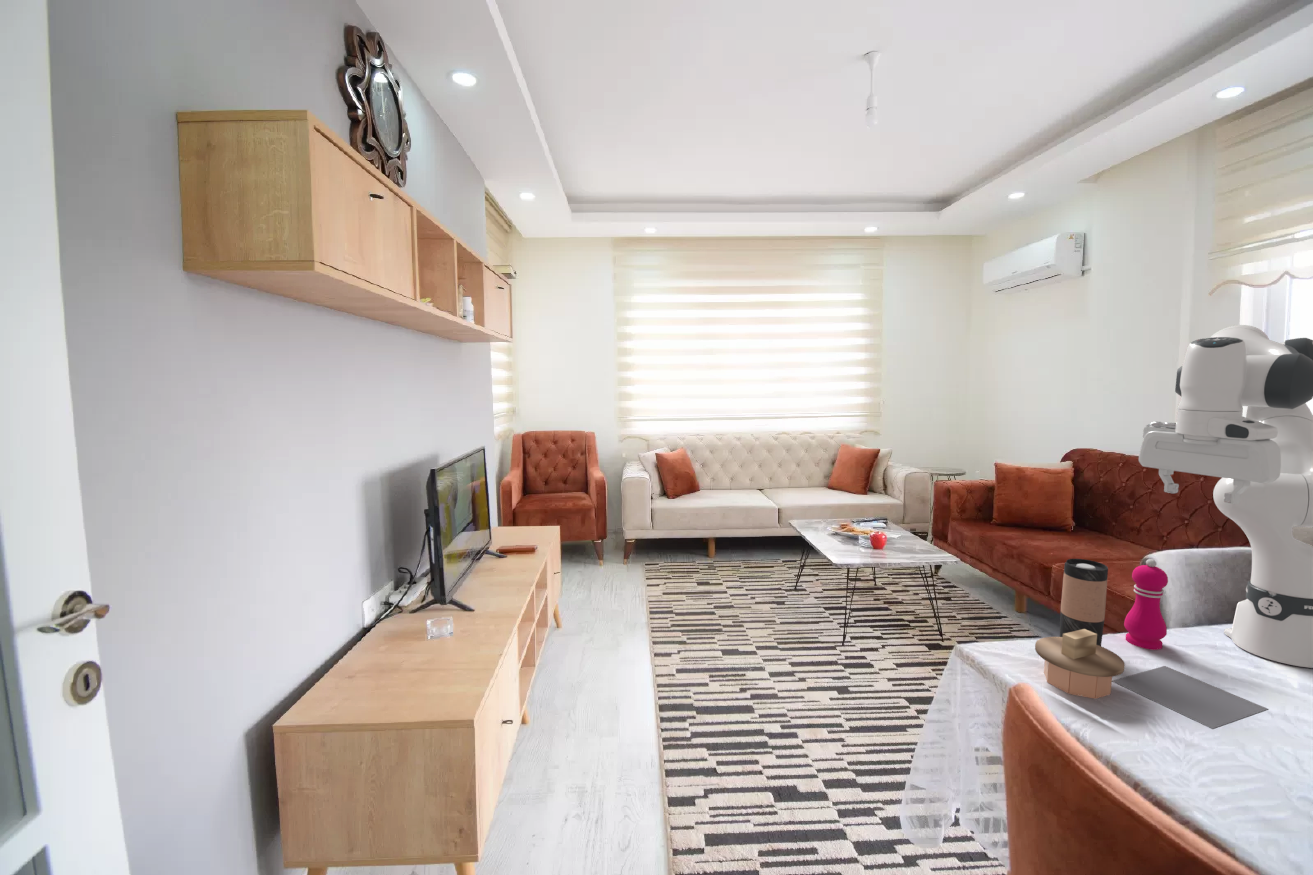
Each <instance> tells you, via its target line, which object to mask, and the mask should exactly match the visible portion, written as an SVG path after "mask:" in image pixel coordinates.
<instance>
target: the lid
mask: <svg viewBox="0 0 1313 875" xmlns="http://www.w3.org/2000/svg"><path fill="white" fill-rule="evenodd" d="M1096 643H1097V634H1096V633H1093V632H1091V631H1088V630H1086V629H1082V630H1077V631H1073V632H1069V633H1064V634H1063V637H1060V636H1047V637H1046V636H1045V637H1041V638H1039V639H1037V640H1036V642H1035V645H1034V647H1035V648H1034V650H1035V652H1036V654H1037V655H1038V657H1040V658H1042V659H1043V661H1045V660H1046V661H1047V662H1049V663H1051V664H1053V665H1055V666H1058V667H1060V668H1063V669H1066V670H1069V671H1072V672H1076V673H1080V674H1084V675H1090V676H1099V677H1110V676H1112V677H1116V676H1119V675H1121V674H1123V673H1124V671H1125V669H1126V668H1125V665H1126V664H1125V662H1124V660H1123V658H1122V657H1121V656H1119V654H1117V653H1115V652H1113V651H1111V650H1110V649H1108V648H1105V647H1104V646H1102V645H1101V646H1099V645H1096Z"/></svg>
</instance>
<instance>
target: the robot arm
mask: <svg viewBox="0 0 1313 875" xmlns="http://www.w3.org/2000/svg"><path fill="white" fill-rule="evenodd" d="M1174 392H1175V394H1177V395H1179V396H1180V397H1181V398H1180V401H1179V403H1178V404H1177V405H1178V406H1177V409H1176V410H1177V412H1176V421H1175V422H1162V421H1152V422H1151V423H1148V424H1146V425H1145V426H1144V428H1143V429H1142V430H1143V431H1142V432H1143V433H1142V439H1143V440H1142V442H1141V445H1140V450H1139V455H1138V462H1139V464H1140V465H1141V466H1142V467H1144V468H1150V469H1151V468H1152V469H1157V470H1158V475H1159V477H1160V479H1161V481H1162V482H1163V485H1164V486H1163V488H1164V489H1163V492H1164V493H1168V494H1177V493H1179V488H1180V487H1179V486H1180V485H1179V483H1175V482H1174V480H1173V477H1172V476H1171V475H1174V472H1181V473H1187V474H1194V475H1201V476H1202V475H1203V476H1207V477H1208V476H1209V477H1214V478H1215V477H1216V478H1220V479H1219V480H1217V483H1216V484H1215V486H1214V488H1213V492H1212V494H1213V496H1212V498H1213V501H1214V505H1215V506H1216V507H1217V509H1218V510H1219V511H1220V513H1222V514H1223V515H1224V516H1225V517H1227V518H1228V519H1230V520H1232V521H1233V522H1234V523H1235V524H1236V525H1237V526H1238V527H1239V528H1240V529H1241V530H1242V531H1243V533H1244V534H1245V535H1246V537H1247V539H1248V541H1249V544H1250V548H1251V574H1250V580H1248V581H1247V584H1246V586H1245V587H1246V588H1245V591H1246V592H1245V598H1246V599H1244V600H1241V601H1238V603H1237V604H1236V608H1235V613H1234V618H1233V622H1232V626H1231V627H1228V628H1227V627H1226V628H1225V629H1224V631H1223V634H1225V636H1227V637H1229V638H1230V639H1231V640H1232V642H1233V643H1234V644H1235V645H1236V647H1239V648H1241V649H1242V650H1244V651H1246V652H1248V653H1250V654H1252V655H1255V656H1258V657H1261V658H1264V659H1266V660H1271V661H1273V662H1278V663H1282V664H1287V665H1291V666H1294V667H1295V666H1296V667H1301V668H1311V669H1313V546H1312V545H1310V544H1309V543H1307V542H1304V541H1302V540H1299V539H1297V538H1295V537H1294V534H1293V528H1297V527H1298V528H1299V527H1300V528H1309V529H1313V413H1312V411H1311V409H1310V408H1309V406H1308V405H1307V403H1308V402H1310V401H1311V400H1313V339H1311V338H1308V337H1298V338H1290V339H1287V340H1285V341H1282V342H1278V341H1273V340H1271V339H1270V338H1269V337H1268V335H1267V334H1266V333H1265V331H1262V329H1260V328H1258V327H1256V326H1253V325H1247V324H1236V325H1235V324H1234V325H1231V326H1226V327H1224V328H1222V329H1220V330H1218V331H1216V332H1214V333H1213V334H1212V335H1211V336H1210V337H1207V338H1206V337H1205V338H1200V339H1196V340H1193V341H1190V343H1189V344H1188V346H1187V349H1186V352H1185V354H1184V359H1183V362H1182V365H1181V366H1179V368H1177V371H1176V379H1175V391H1174ZM1244 407H1247V409H1246V415H1245V416H1243V411H1244Z"/></svg>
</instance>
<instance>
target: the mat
mask: <svg viewBox="0 0 1313 875" xmlns="http://www.w3.org/2000/svg"><path fill="white" fill-rule="evenodd" d="M1112 683H1114V684H1117V685H1119V686H1121V687H1122V688H1125V689H1127V690H1129V691H1131V692H1134V693H1135V694H1137V695H1140V696H1142V697H1143V698H1146V699H1148V700H1150V701H1152V702H1153V703H1157V704H1159V705H1161V706H1162V707H1165V708H1167V709H1169V710H1171V711H1173V712H1175V713H1178V714H1180V715H1182V716H1184V717H1185V718H1189V719H1190V720H1192V721H1194V722H1197V723H1199V724H1201V725H1203V726H1205V727H1207V728H1209V729H1211V730H1213V729H1217V728H1220V727H1222V726H1225V725H1227V724H1230V723H1234V722H1237V721H1239V720H1243V719H1245V718H1248V717H1250V716H1254V715H1256V714H1259V713H1262V712H1266V711H1267V710H1269V708H1267V707H1264V706H1262V705H1260V704H1257V703H1255V702H1253V701H1250V700H1248V699H1247V698H1244V697H1241V696H1239V695H1235V694H1233V693H1231V692H1229V691H1226V690H1224V689H1221V688H1220V687H1217V686H1214V685H1212V684H1210V683H1208V682H1205V681H1204V680H1200V679H1197V678H1195V677H1193V676H1190V675H1188V674H1186V673H1183V672H1181V671H1178V670H1176V669H1174V668H1171V667H1168V666H1166V665H1163V666H1159V667H1156V668H1155V667H1154V668H1152V669H1149V670H1144V671H1141V672H1137V673H1135V674H1130V675H1127V676H1124V677H1120V678H1117V679H1112Z"/></svg>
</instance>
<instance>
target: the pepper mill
mask: <svg viewBox="0 0 1313 875" xmlns="http://www.w3.org/2000/svg"><path fill="white" fill-rule="evenodd" d="M1131 578H1132V581H1133V582H1134V583H1135V584H1134V585H1133V587H1134V588H1133V592H1134V593H1135V600H1134V603H1133V605H1132V607H1131V608H1130V610H1129V611H1128V613H1127V614H1126V616H1125V618H1124V623H1123V626H1124V628H1125V630H1126V631H1127V633H1126V634H1125V642H1127V643H1128V644H1131V645H1132V646H1134V647H1137V648H1140V649H1141V648H1142V649H1145V650H1150V651H1151V650H1153V651H1155V650H1157V651H1158V650H1161V649H1163V645H1164V644H1163V640H1162V639H1164V638H1165V637H1166V636H1167V635H1168V632H1167V630H1168V629H1167V628H1168V627H1167V624H1166V622H1165V619H1164V617H1163V615H1162V611H1161V599H1162V598H1163V597H1164V593H1165V592H1164V589H1163V588H1165V587H1167V585H1168V582H1169V577H1168V574H1167V572H1165V570H1163V569H1162V568H1160V567H1158V566H1157V561H1156V560H1155V559H1152V558H1148V559H1147V560H1146V561H1145V564H1141V565H1138V566H1136V567H1135V568H1134V569H1133V570H1132V573H1131Z"/></svg>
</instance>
